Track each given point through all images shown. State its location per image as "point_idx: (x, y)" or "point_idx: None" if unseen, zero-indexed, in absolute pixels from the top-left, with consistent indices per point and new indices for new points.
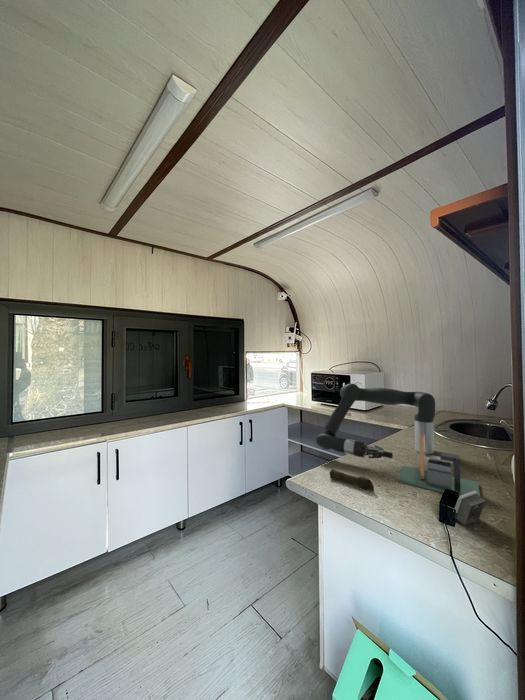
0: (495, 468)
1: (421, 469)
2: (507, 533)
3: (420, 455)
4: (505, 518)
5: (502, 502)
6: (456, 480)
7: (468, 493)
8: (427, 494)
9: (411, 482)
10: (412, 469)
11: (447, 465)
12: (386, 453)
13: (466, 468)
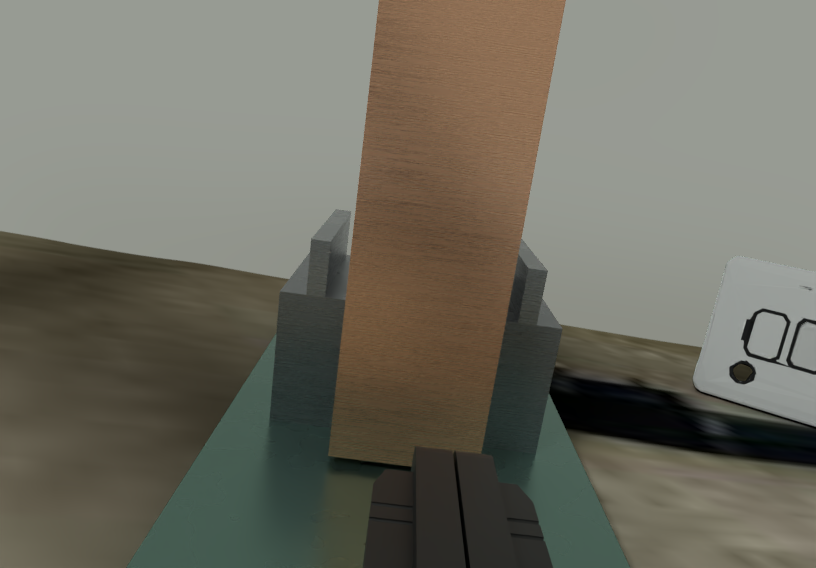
0: (13, 248)
1: (492, 377)
2: None
3: (522, 229)
4: (599, 332)
5: None
6: None
7: (806, 270)
8: (674, 491)
9: (619, 547)
10: (213, 519)
11: None
12: (508, 549)
13: (23, 300)
